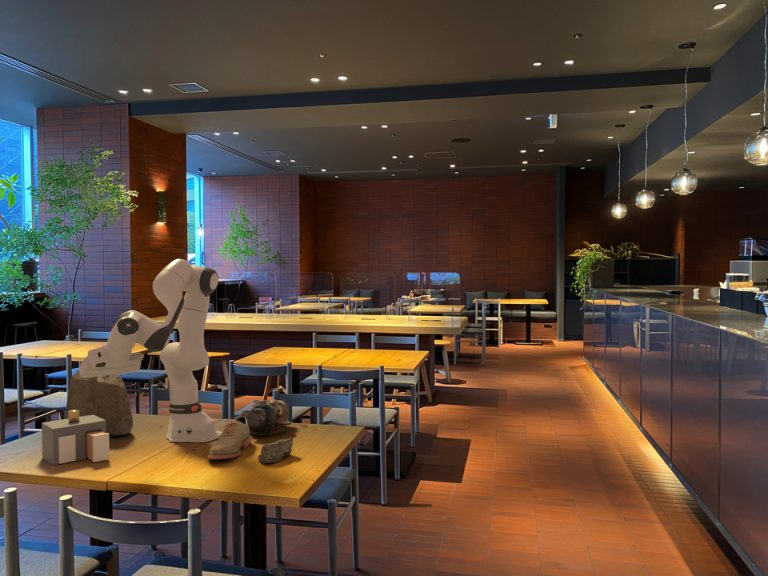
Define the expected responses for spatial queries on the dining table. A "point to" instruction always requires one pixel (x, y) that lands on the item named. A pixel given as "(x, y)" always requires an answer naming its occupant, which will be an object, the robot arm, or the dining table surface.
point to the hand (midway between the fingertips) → (105, 379)
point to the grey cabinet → (65, 428)
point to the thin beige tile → (66, 448)
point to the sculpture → (267, 418)
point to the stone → (101, 402)
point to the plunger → (97, 445)
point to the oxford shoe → (231, 440)
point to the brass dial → (73, 416)
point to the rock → (275, 450)
